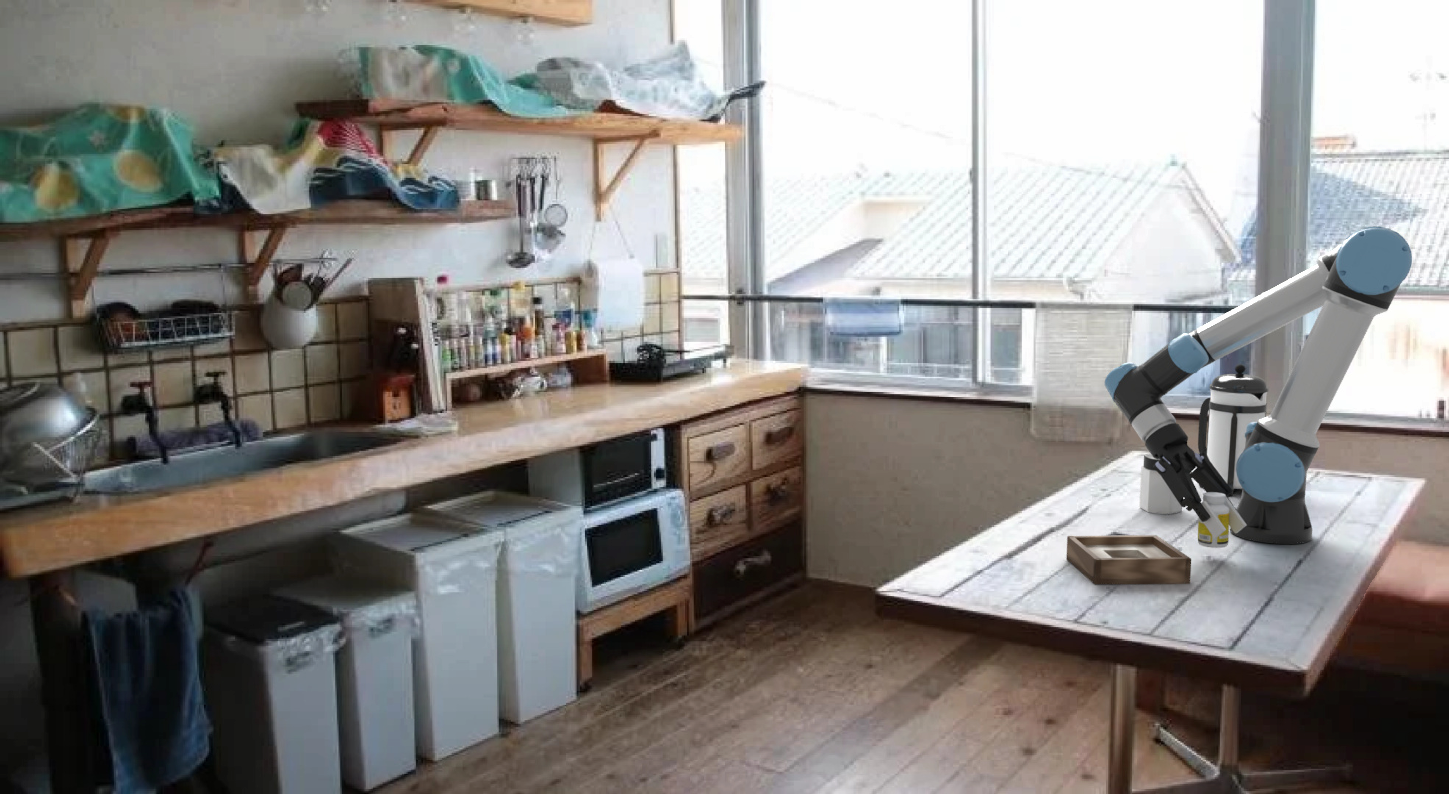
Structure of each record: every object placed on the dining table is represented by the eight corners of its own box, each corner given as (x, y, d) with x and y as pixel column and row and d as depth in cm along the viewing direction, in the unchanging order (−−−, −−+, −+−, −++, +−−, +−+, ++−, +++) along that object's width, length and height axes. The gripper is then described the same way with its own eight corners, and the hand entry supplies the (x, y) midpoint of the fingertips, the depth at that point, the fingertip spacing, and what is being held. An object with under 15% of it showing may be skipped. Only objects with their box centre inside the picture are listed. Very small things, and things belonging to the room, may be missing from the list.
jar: (1163, 516, 263) (1166, 461, 262) (1132, 508, 270) (1134, 455, 268) (1189, 510, 268) (1192, 457, 267) (1158, 503, 275) (1160, 451, 273)
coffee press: (1272, 487, 292) (1280, 362, 288) (1261, 500, 279) (1269, 369, 274) (1196, 478, 301) (1203, 357, 297) (1181, 490, 288) (1189, 364, 283)
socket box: (1155, 558, 231) (1156, 535, 231) (1189, 583, 215) (1191, 558, 215) (1066, 559, 231) (1067, 536, 230) (1094, 584, 215) (1095, 559, 214)
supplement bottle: (1227, 542, 233) (1229, 492, 232) (1228, 549, 228) (1231, 498, 226) (1196, 540, 235) (1198, 490, 233) (1197, 547, 230) (1199, 496, 228)
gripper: (1179, 439, 247) (1248, 535, 235) (1117, 449, 237) (1186, 549, 225) (1202, 416, 241) (1274, 513, 230) (1140, 426, 232) (1212, 527, 220)
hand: (1230, 531), depth 228 cm, fingers closed on supplement bottle, 5 cm apart
